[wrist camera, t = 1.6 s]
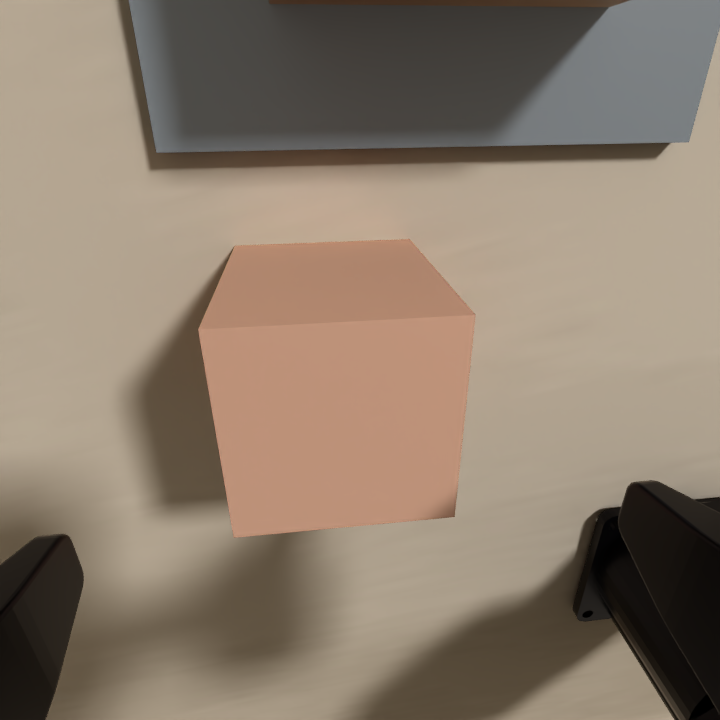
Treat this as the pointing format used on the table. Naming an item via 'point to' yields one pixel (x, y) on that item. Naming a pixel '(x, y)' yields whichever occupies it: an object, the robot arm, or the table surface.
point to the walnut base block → (462, 2)
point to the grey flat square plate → (420, 74)
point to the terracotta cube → (336, 385)
